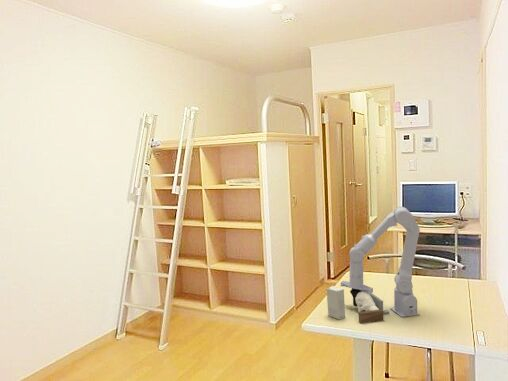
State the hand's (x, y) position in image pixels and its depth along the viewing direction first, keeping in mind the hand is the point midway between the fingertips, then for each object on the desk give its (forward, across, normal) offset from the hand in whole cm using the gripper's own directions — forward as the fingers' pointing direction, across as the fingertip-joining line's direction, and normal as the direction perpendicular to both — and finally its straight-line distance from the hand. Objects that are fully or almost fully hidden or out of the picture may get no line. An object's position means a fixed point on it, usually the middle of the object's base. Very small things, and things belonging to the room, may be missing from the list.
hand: (356, 305), depth 173 cm
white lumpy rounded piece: (+1, -7, +2) cm, 7 cm away
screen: (+1, -3, -8) cm, 9 cm away
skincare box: (+2, +2, +13) cm, 13 cm away
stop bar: (+1, -11, +8) cm, 14 cm away
